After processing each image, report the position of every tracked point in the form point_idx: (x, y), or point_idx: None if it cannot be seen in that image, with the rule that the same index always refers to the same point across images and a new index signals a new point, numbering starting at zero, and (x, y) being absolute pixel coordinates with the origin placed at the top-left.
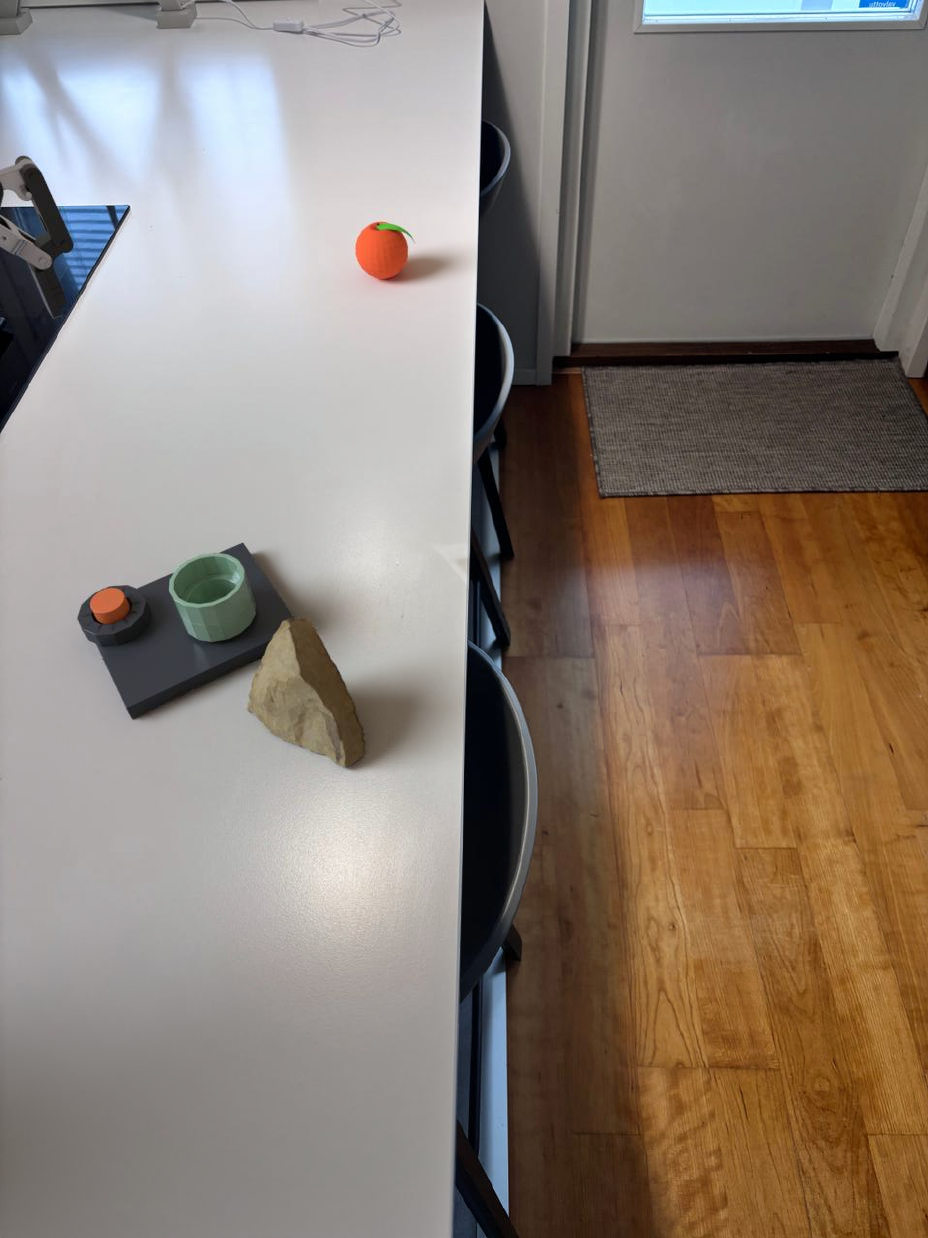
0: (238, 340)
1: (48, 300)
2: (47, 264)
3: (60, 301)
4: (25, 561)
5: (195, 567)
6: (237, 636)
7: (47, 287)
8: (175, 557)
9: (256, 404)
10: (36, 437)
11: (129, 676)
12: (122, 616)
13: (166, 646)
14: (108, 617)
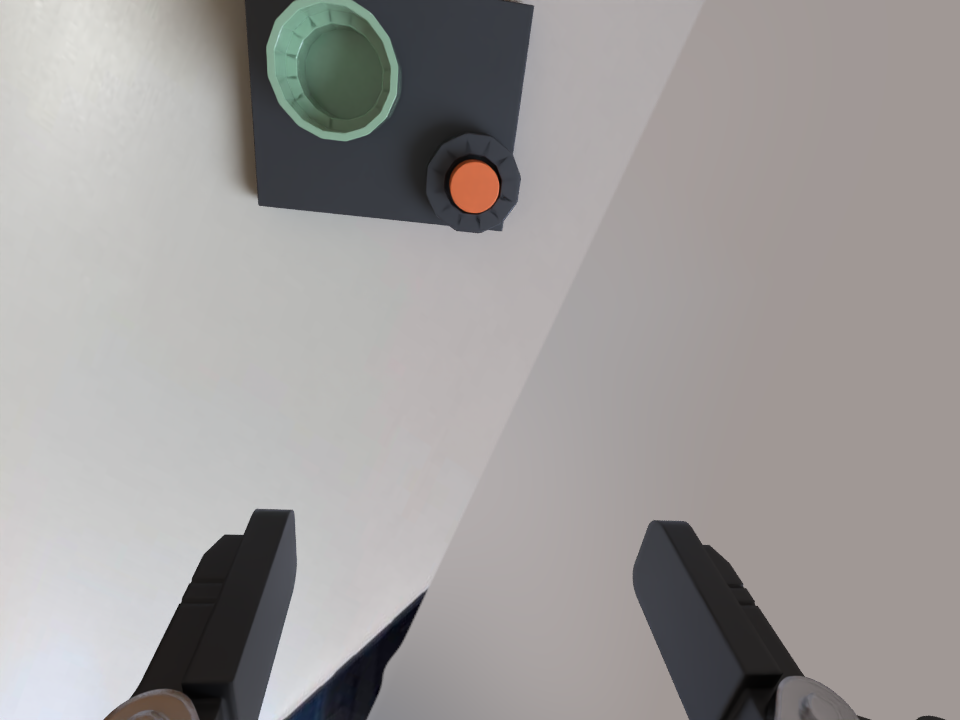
0: (131, 577)
1: (263, 561)
2: (136, 709)
3: (229, 553)
4: (511, 374)
5: (339, 131)
6: None
7: (229, 607)
8: (356, 263)
9: (148, 461)
10: (417, 546)
11: (503, 64)
12: (467, 160)
13: (437, 81)
14: (485, 163)
